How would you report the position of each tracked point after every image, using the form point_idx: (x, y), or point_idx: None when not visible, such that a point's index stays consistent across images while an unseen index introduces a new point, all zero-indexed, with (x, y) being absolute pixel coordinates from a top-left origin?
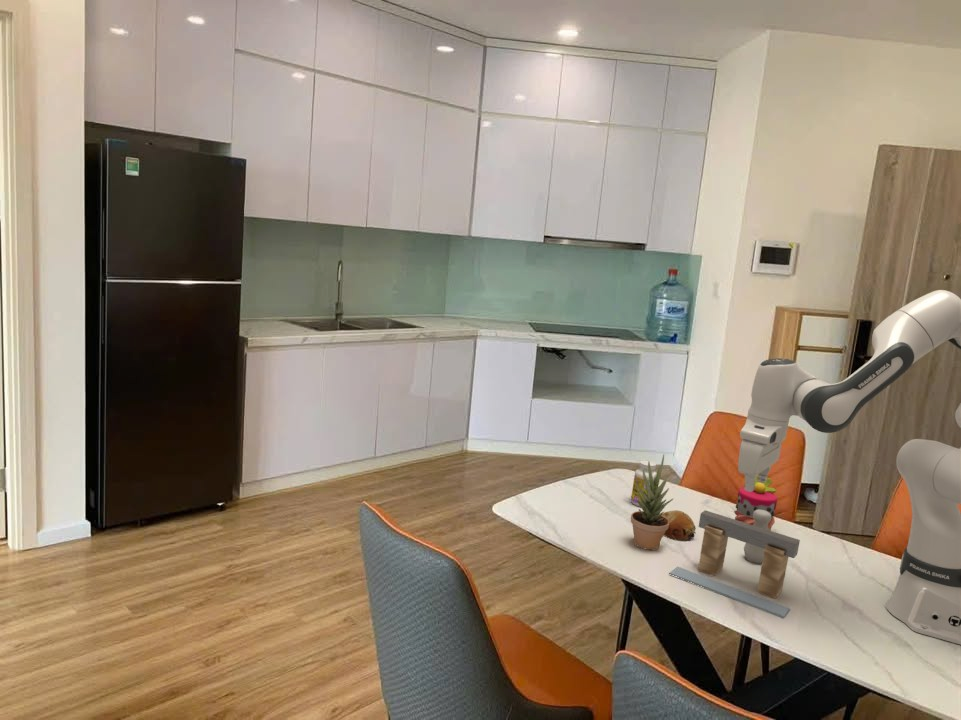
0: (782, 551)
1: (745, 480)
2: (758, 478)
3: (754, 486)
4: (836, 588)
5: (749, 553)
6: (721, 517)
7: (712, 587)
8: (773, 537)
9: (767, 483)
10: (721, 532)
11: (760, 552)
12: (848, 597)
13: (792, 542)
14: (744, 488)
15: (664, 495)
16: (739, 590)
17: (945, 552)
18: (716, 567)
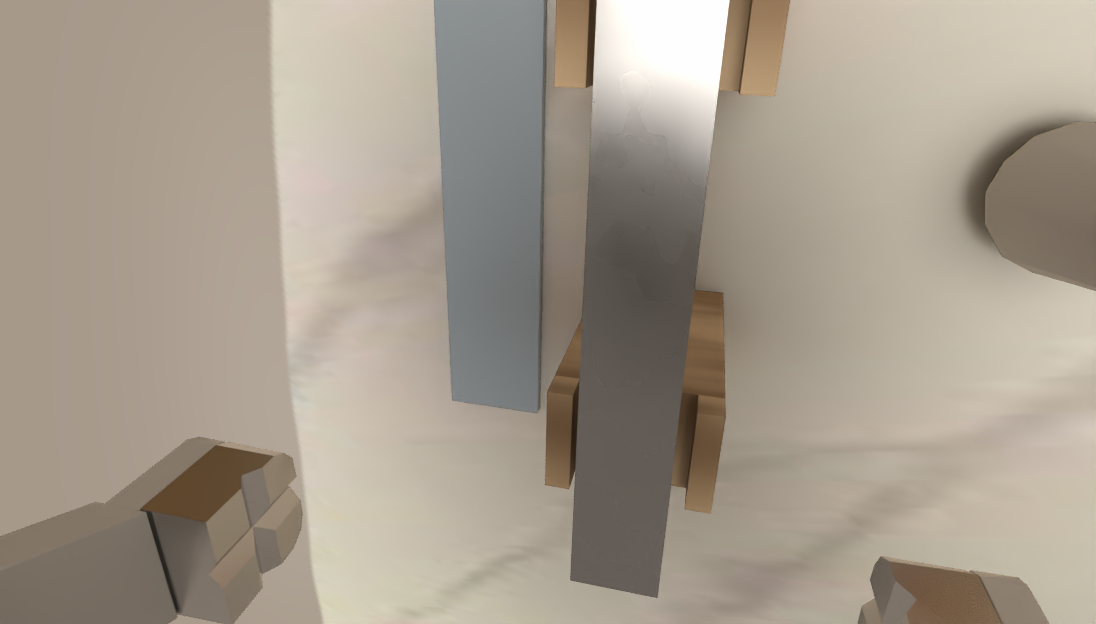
0: (550, 479)
1: (31, 533)
2: (909, 611)
3: (245, 587)
4: (920, 551)
5: (999, 175)
6: (659, 33)
7: (453, 110)
8: (576, 458)
9: None
10: (555, 85)
11: (1006, 244)
12: (850, 585)
13: (571, 561)
14: (185, 441)
15: None
16: (528, 220)
17: None
18: None
